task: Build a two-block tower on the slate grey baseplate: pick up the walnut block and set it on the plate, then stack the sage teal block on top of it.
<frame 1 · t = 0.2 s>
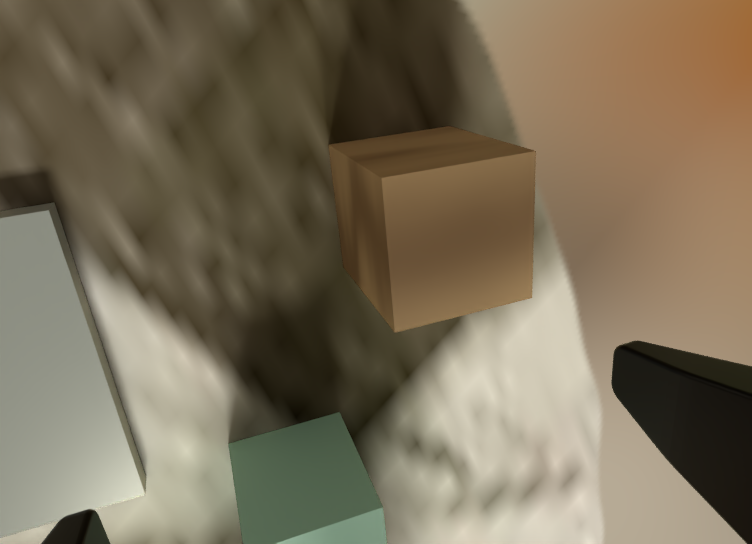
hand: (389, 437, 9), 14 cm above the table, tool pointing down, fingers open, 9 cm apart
teal block: (293, 470, 26), on the table
walnut block: (395, 197, 23), on the table
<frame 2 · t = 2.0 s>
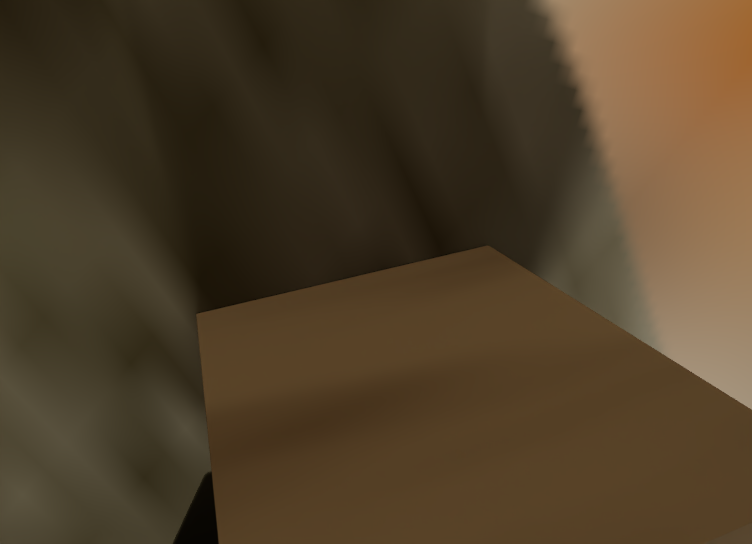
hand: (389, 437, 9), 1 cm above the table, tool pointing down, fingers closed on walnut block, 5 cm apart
walnut block: (368, 401, 10), on the table, touching gripper
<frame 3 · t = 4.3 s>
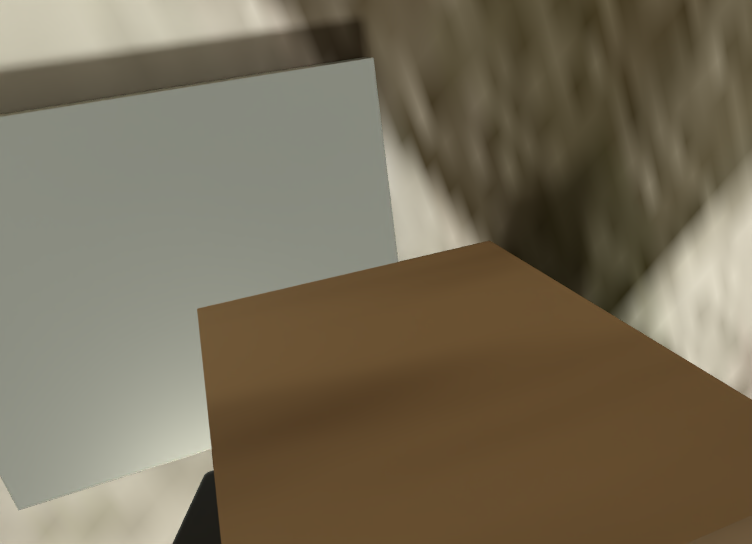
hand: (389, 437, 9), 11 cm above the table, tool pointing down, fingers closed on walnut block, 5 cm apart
walnut block: (370, 397, 10), point 10 cm above the table, touching gripper
baseplate: (187, 281, 18), on the table
when the fingers open (3 cm above the table, at t = 6.4 s): walnut block drops 1 cm, resting on baseplate.
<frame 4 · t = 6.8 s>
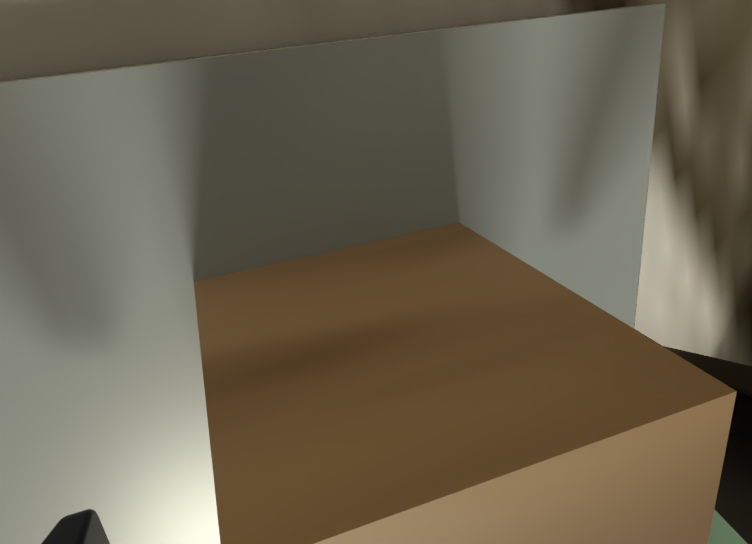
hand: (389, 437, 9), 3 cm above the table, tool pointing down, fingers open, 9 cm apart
teal block: (740, 449, 19), on the table
walnut block: (351, 366, 11), point 1 cm above the table, touching baseplate
baseplate: (336, 345, 12), on the table
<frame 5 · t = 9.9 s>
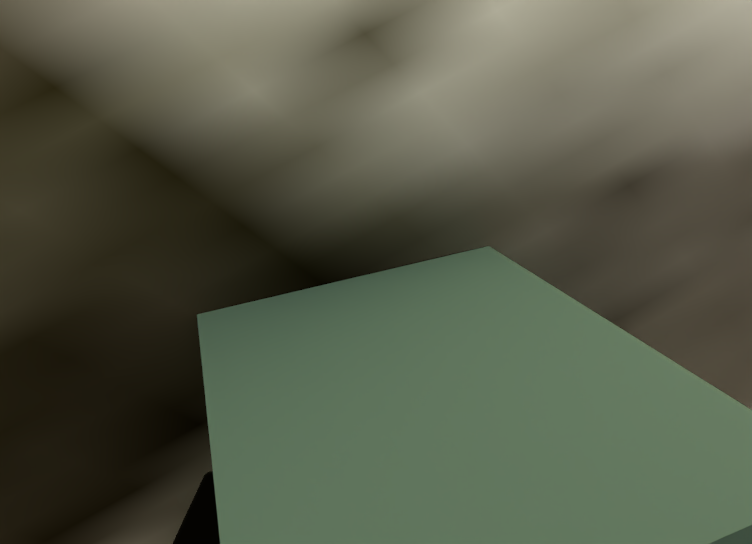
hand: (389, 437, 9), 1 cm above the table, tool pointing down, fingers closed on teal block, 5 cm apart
teal block: (369, 402, 10), on the table, touching gripper
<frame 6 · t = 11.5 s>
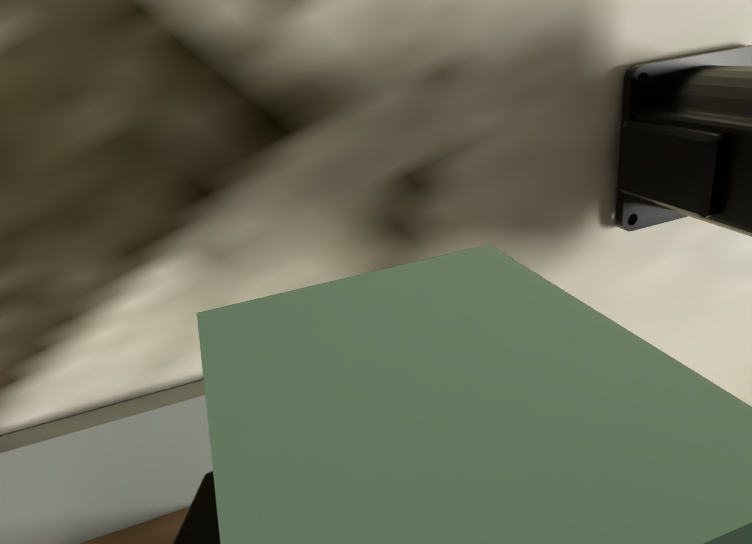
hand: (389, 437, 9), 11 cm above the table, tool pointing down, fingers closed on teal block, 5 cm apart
teal block: (369, 401, 10), point 10 cm above the table, touching gripper
when the fingers open (9 cm above the table, at t = 13.0 s): teal block drops 1 cm, resting on walnut block.
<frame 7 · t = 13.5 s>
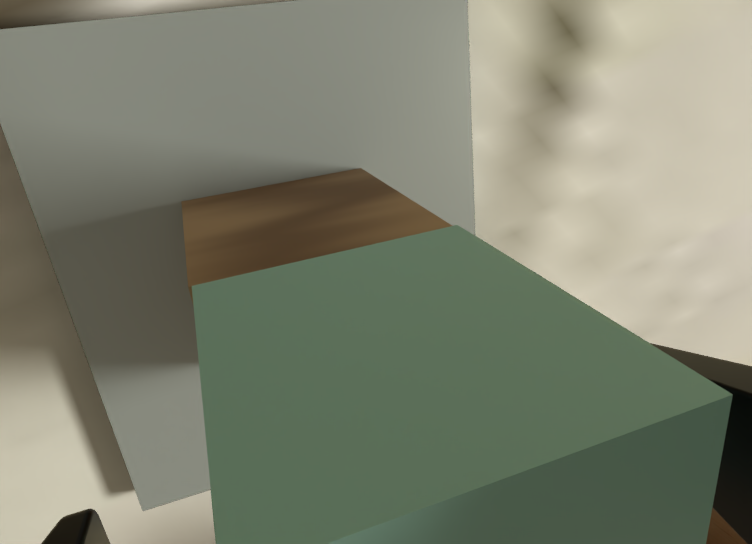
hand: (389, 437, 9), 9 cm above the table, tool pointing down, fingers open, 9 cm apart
teal block: (350, 369, 11), point 7 cm above the table, touching walnut block
wooden toy: (583, 506, 27), on the table
walnut block: (290, 266, 16), point 1 cm above the table, touching baseplate, teal block
baseplate: (286, 256, 17), on the table
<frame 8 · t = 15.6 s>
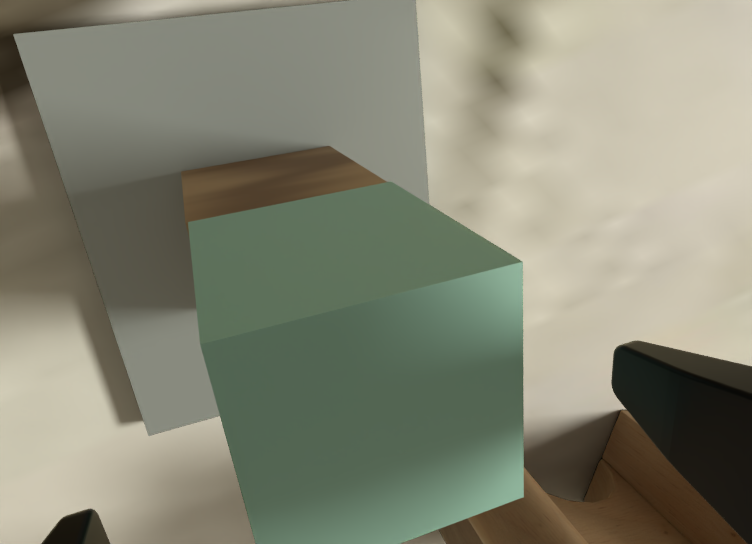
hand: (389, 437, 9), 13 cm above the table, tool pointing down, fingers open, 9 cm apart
teal block: (310, 293, 15), point 7 cm above the table, touching walnut block
wooden toy: (539, 454, 30), on the table
walnut block: (271, 228, 20), point 1 cm above the table, touching baseplate, teal block
baseplate: (268, 221, 21), on the table
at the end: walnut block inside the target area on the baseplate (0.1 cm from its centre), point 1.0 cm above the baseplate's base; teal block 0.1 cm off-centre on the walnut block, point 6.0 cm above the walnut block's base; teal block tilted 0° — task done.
